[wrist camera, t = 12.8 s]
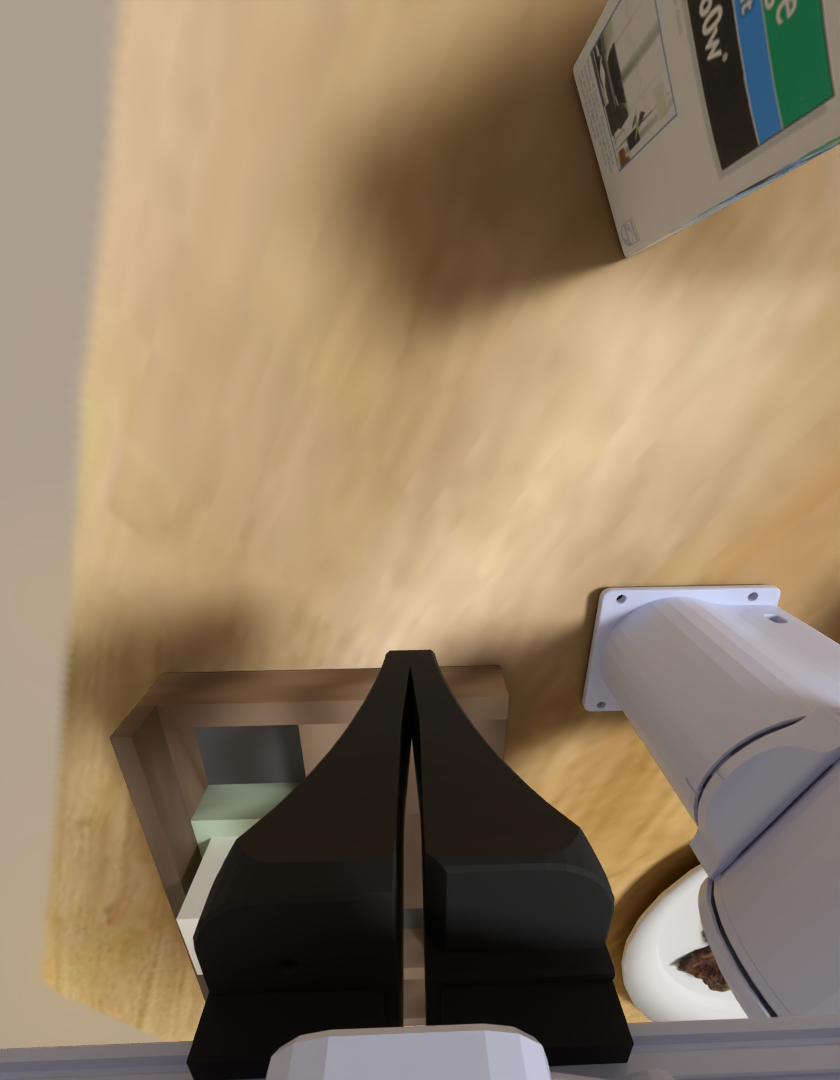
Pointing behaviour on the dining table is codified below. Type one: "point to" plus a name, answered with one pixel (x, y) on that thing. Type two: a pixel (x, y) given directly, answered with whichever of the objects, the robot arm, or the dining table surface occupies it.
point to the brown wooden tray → (268, 767)
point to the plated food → (676, 960)
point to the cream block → (202, 891)
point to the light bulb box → (705, 103)
